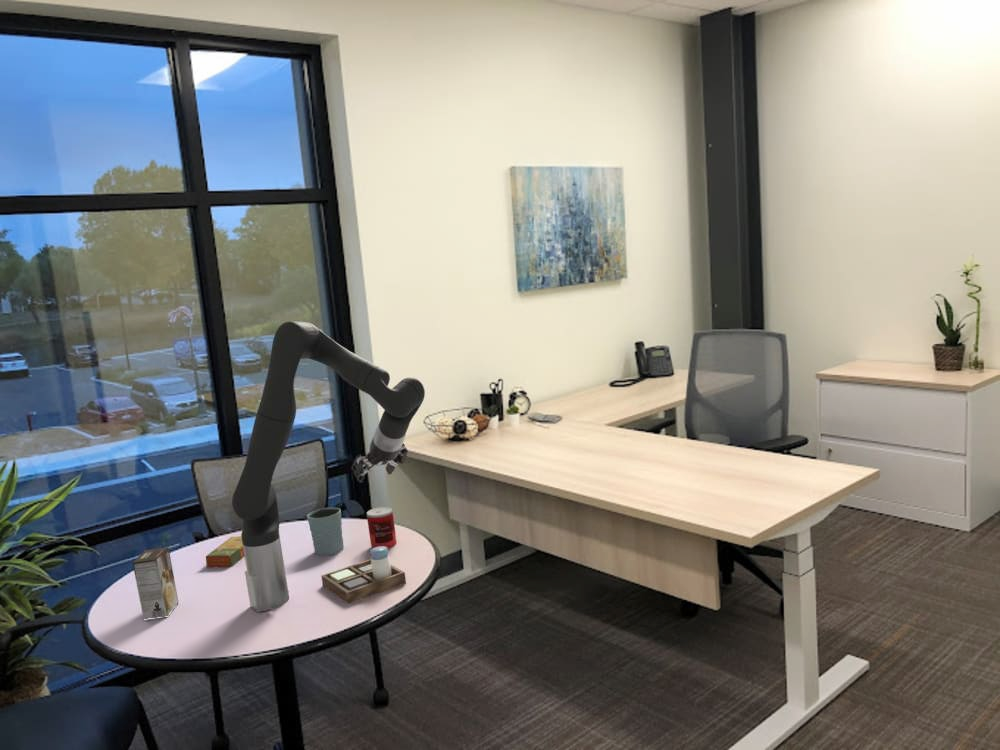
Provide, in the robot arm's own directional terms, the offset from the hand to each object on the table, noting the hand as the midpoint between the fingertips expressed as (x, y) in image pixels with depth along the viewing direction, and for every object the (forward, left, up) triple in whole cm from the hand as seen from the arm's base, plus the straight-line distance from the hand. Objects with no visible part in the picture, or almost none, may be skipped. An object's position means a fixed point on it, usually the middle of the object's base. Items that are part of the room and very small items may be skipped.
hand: (373, 475), depth 213 cm
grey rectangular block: (-3, +4, -28) cm, 29 cm away
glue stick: (-3, -4, -28) cm, 28 cm away
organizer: (-7, 0, -29) cm, 30 cm away
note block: (-11, +4, -28) cm, 30 cm away
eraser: (-11, -4, -28) cm, 30 cm away
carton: (-25, +55, -29) cm, 67 cm away
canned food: (+11, +24, -29) cm, 39 cm away
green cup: (-2, +35, -29) cm, 45 cm away
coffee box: (-52, +29, -29) cm, 66 cm away
